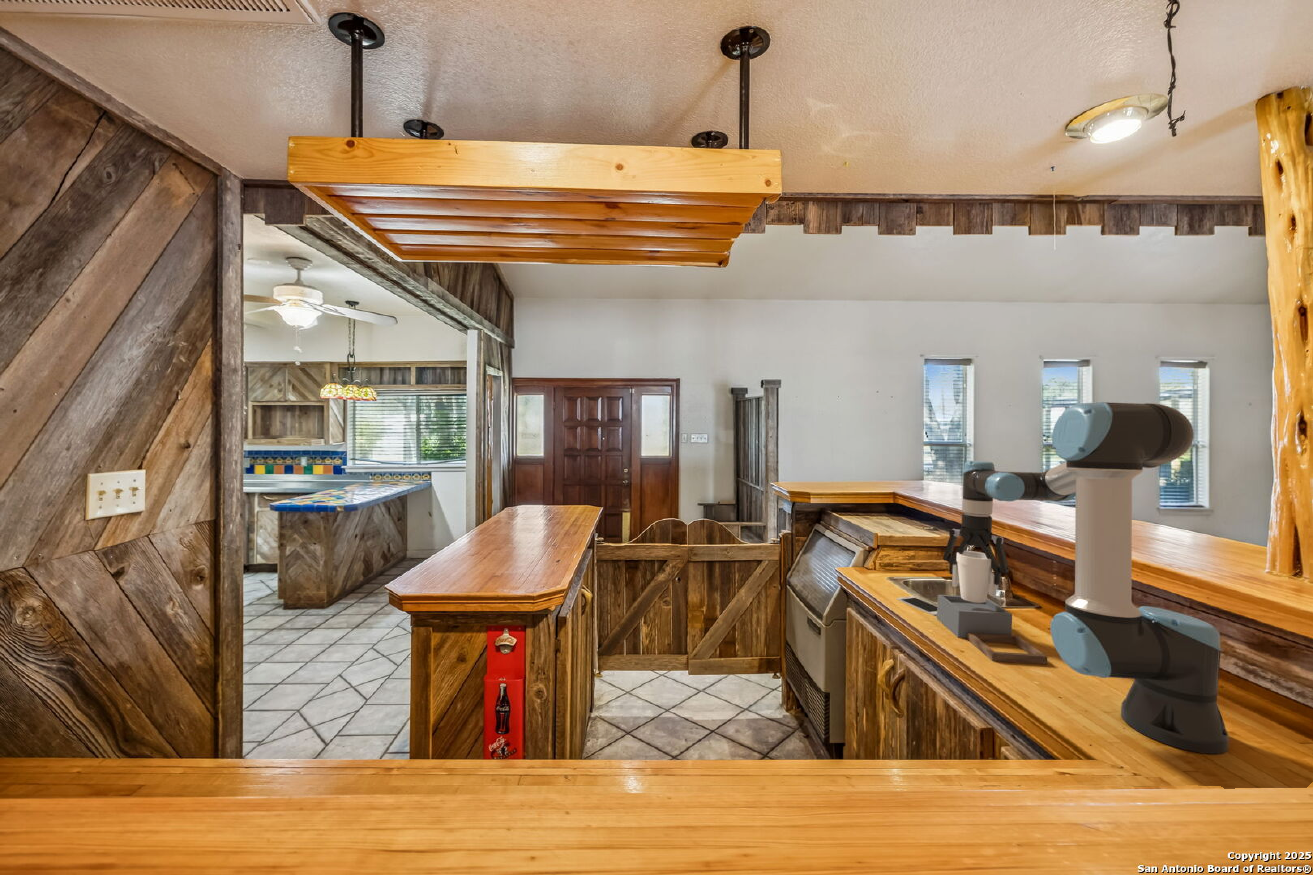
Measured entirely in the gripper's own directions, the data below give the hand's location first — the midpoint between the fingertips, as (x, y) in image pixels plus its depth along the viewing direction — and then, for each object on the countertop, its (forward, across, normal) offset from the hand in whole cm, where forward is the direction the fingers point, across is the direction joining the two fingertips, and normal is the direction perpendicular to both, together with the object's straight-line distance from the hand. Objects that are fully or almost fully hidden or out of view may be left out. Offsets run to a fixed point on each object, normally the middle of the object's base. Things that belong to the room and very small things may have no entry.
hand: (973, 590), depth 152 cm
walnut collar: (+11, -11, +9) cm, 19 cm away
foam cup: (+3, 0, 0) cm, 3 cm away
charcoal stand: (+11, 0, 0) cm, 11 cm away
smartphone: (+12, +18, -8) cm, 23 cm away
